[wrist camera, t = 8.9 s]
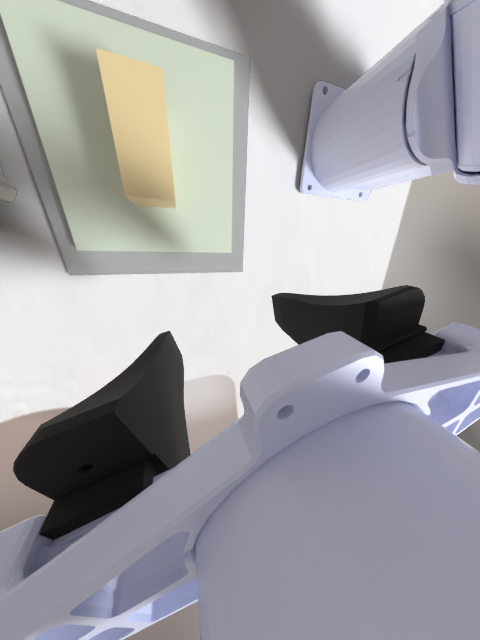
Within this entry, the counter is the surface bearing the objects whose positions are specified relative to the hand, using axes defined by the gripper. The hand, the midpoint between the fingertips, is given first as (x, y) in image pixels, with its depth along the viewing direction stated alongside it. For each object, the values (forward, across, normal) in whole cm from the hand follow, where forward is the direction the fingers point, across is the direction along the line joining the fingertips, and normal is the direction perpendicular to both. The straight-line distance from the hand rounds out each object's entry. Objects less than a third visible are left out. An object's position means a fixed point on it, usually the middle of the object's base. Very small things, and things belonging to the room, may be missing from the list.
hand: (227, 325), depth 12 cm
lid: (+9, +1, -11) cm, 14 cm away
